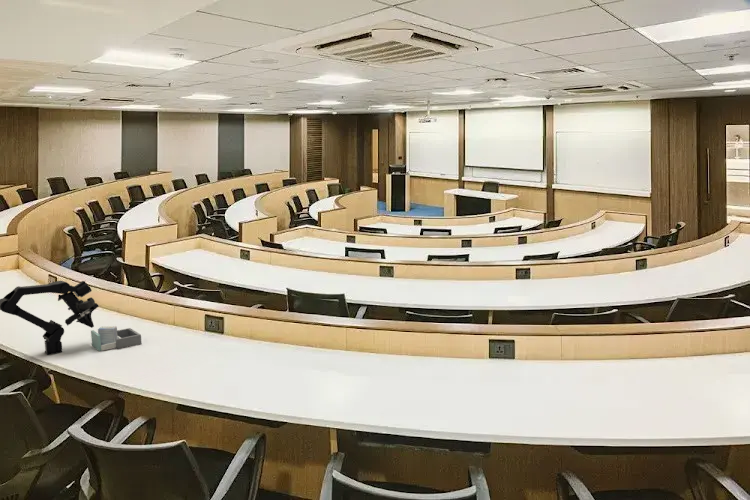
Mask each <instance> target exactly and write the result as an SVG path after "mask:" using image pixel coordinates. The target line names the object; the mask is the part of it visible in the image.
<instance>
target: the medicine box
mask: <svg viewBox="0 0 750 500" xmlns="http://www.w3.org/2000/svg"><path fill="white" fill-rule="evenodd" d="M117 330H118V327H117V326H116V325H115V326H114V325H111V326H109V325H108V326H100V327H99V328H98V329H97V333H98V334H99V335H100V340H101V345H105V344H110V343H115V342H116V339H118V336H117Z"/></svg>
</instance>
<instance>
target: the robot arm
mask: <svg viewBox="0 0 750 500" xmlns="http://www.w3.org/2000/svg"><path fill="white" fill-rule="evenodd" d="M91 292H92V289H91V286H89V284H88V283H86V281H85V280H82V281H80V282H79V283H77V284H76V285H72V284H70V283H68V282H66V281H63V280H57V281H53V282H51V283H48V284H47V283H45V284H37V285H27V286H25V285H24V286H16V287H15V288H14V289H12V290H11V291H10V292H9V293H8V294H6V295H4V296H3V298H0V311H1V312H4V313H6V314H9V315H13V316H16V317H19V318H21V319H23V320H25V321H27V322H29V323H31V324H33V325H34V326H37V327H39V328H41V329H42V330H43V331H44V334H43V335H42V339H44V349H45V350H44V353H45V354H46V355H47V356H48V355H53V354H54V355H55V354H59V353H62V352H63V342H62V341H61V340H62V337H63V335H64V333H65V328H63V325H62V324H60V323H58V322H56V321H55V320H52V319H50V320H49V321H46V320H44V319H42V318H40V317H38V316H36V315H34V314H32V313H31V312H28V311H27V310H24V309H23V308H21V307H20V306H19V305H17V304H18V303H19V302H20V300H21V299H22V297H23V296H28V295H29V296H30V295H39V294H46V293H47V294H49V293H51V294H52V293H53V294H58V295H57V297H58V298H57V301H58V302H59V301H61V300H62V301H63V302H64V303H65V304H66V305H67V307H68V308H67V310H68V311H71V312H72V313H73V314H72V315H70V316H69V317H67V318H66V319H64V323H65V324H66V326H69V325H71V324H72V323H73V322H76V323H80V324H82V325H85V326H87V327H89V328H92V329H93V328H94V327H95V325H94V322H93V319H92V313H93V312H94V311H95V310H96V309H98V308H99V307H100V305H99V304H98V303H96V301H95V299H94V298H93V297H88V298H87V299H86V300H85V301H83V299H79V298H83V297H85V296H86V295H87V294H89V293H91Z"/></svg>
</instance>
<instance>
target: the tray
mask: <svg viewBox="0 0 750 500" xmlns="http://www.w3.org/2000/svg"><path fill="white" fill-rule="evenodd" d="M117 336H118V335H117ZM90 337H91V346H92V347H93V348H94V349H95V350H97V351H98V352H101V351H107V350H111V349H116V348H117V346H116V342H115V343H110V344H105V345H101V340H100V335H99V334H98V332H96V331H95V330H94V329H93V330H90ZM119 338H120V337H119V336H118V339H119Z"/></svg>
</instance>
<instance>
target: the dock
mask: <svg viewBox="0 0 750 500" xmlns="http://www.w3.org/2000/svg"><path fill="white" fill-rule="evenodd" d="M117 335H118V336H119V337H120V338H119V339H116V346H117V348H115V349H116V350H121V349H125V348H130V347H135V346H138V345H142V335H141V334H140V333H139V332H137V331H136V330H134V329H133V328H131V327H128V328H123V329H119V330H118V329H117Z"/></svg>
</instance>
